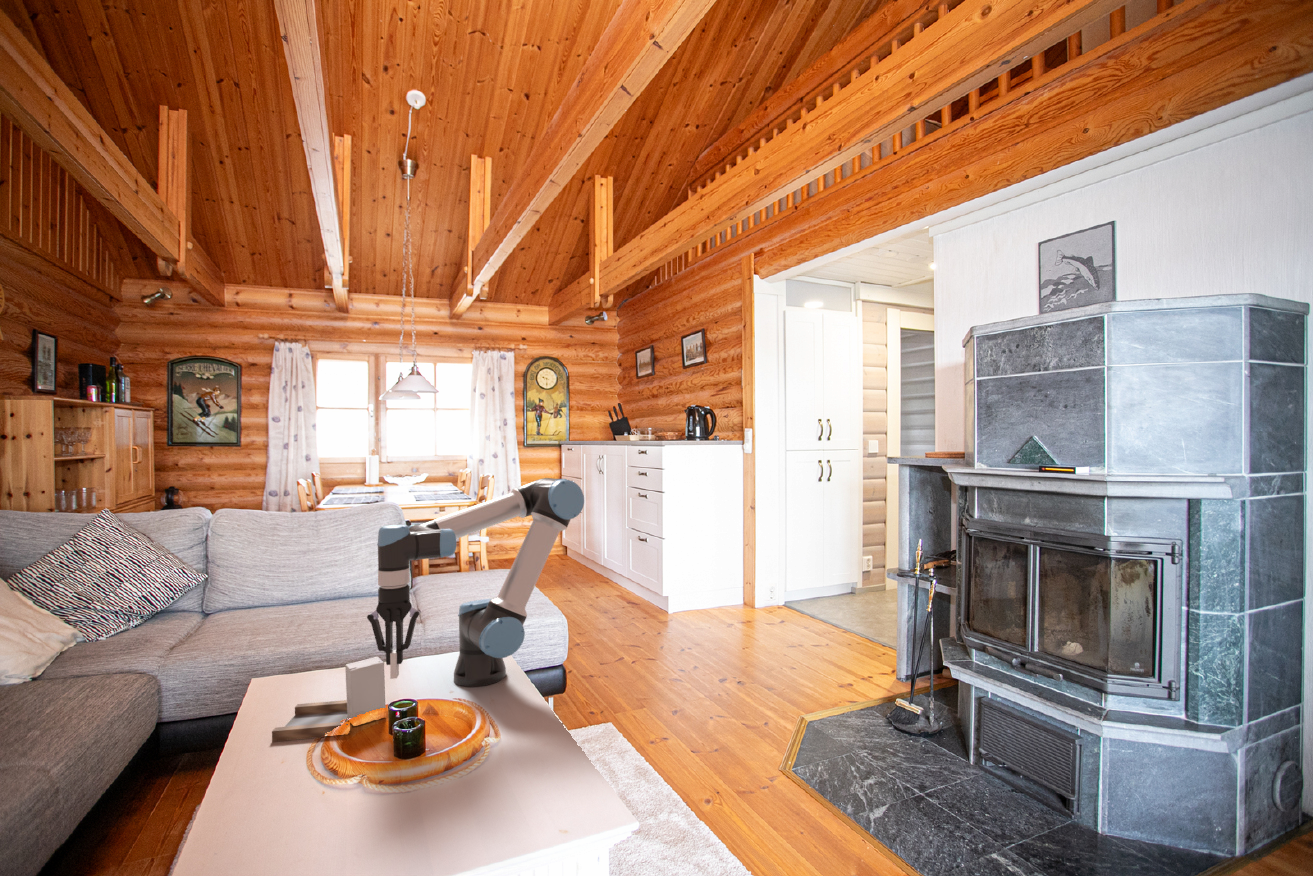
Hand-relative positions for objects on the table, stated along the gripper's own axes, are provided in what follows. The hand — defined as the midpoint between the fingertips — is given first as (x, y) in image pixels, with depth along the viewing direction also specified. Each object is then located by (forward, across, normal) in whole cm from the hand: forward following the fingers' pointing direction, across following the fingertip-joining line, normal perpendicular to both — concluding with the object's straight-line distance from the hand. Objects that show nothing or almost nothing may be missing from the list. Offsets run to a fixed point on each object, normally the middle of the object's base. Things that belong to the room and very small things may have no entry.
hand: (394, 676), depth 162 cm
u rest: (+11, +18, 0) cm, 20 cm away
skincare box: (+11, +7, 0) cm, 13 cm away
